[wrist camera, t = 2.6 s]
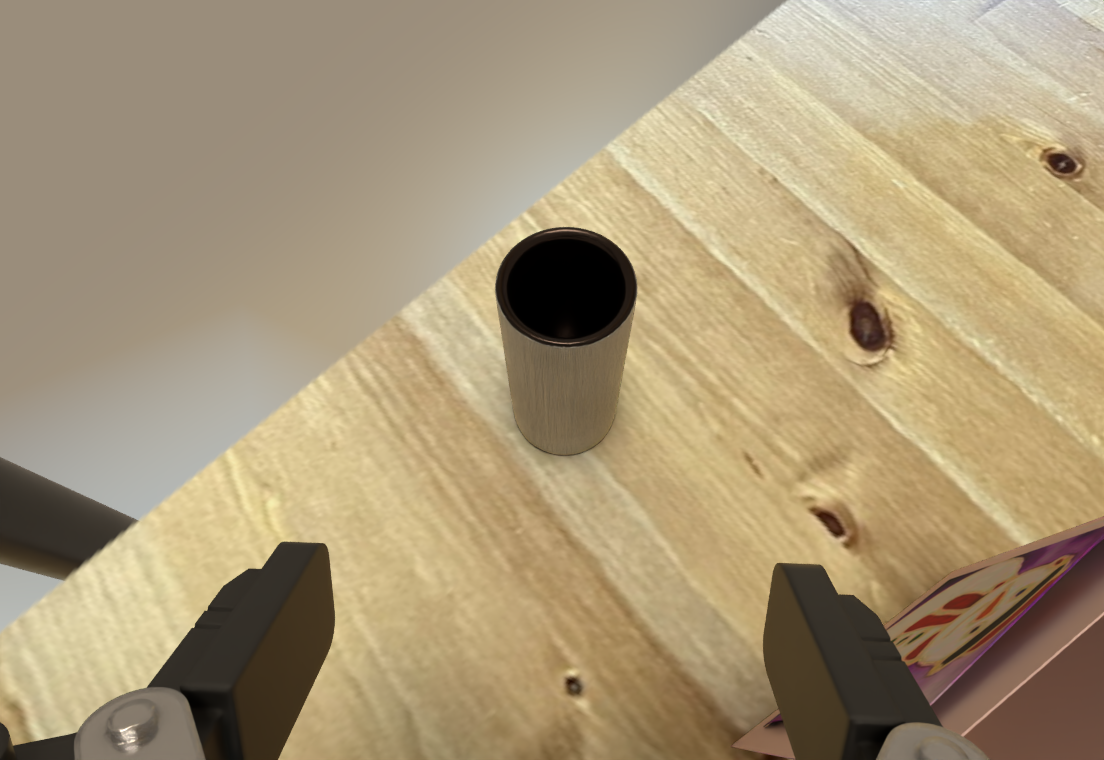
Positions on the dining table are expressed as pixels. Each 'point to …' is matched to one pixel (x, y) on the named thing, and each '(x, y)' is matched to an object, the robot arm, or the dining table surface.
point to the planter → (565, 334)
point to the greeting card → (1006, 652)
